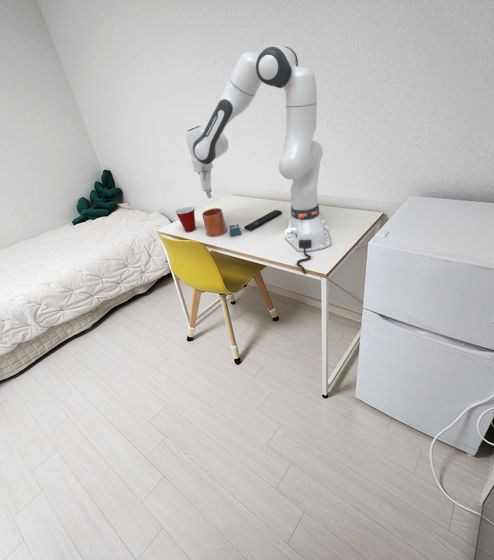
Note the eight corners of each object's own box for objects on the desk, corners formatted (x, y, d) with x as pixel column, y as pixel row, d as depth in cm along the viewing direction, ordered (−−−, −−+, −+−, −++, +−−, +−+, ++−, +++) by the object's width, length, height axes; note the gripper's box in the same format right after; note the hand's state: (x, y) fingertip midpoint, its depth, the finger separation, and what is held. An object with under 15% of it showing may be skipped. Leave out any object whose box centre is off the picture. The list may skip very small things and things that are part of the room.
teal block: (240, 235, 153) (239, 227, 151) (231, 237, 153) (229, 229, 151) (239, 231, 157) (238, 223, 155) (230, 233, 157) (229, 225, 155)
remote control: (244, 229, 158) (244, 226, 157) (275, 211, 170) (275, 209, 169) (251, 231, 154) (251, 228, 154) (282, 213, 167) (282, 211, 166)
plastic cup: (203, 225, 172) (197, 204, 165) (195, 233, 163) (189, 212, 157) (185, 225, 175) (179, 205, 169) (177, 234, 167) (171, 213, 160)
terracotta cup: (226, 234, 157) (222, 213, 151) (207, 238, 157) (201, 217, 151) (226, 226, 165) (221, 206, 159) (207, 230, 165) (202, 210, 159)
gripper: (209, 169, 133) (216, 200, 141) (209, 159, 150) (215, 187, 158) (195, 172, 133) (203, 203, 141) (196, 162, 150) (203, 190, 158)
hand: (209, 194), depth 149 cm, fingers open, 8 cm apart
